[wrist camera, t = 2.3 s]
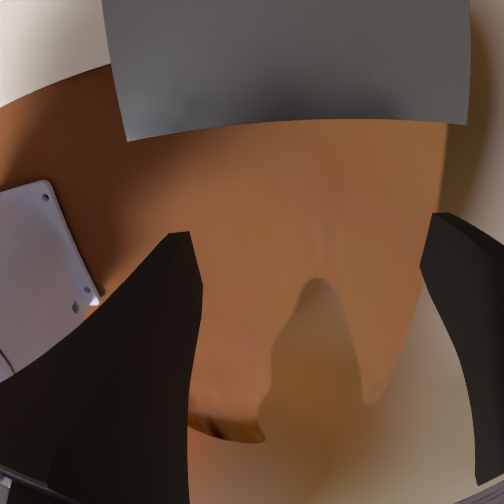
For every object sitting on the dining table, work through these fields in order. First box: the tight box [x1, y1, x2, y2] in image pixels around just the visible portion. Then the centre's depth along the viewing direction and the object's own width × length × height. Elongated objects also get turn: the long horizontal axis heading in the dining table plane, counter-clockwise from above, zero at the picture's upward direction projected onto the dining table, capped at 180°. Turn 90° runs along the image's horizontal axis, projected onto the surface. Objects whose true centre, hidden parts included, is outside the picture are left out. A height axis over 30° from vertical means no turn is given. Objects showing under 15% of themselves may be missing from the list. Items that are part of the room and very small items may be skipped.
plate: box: [0, 0, 111, 107], centre depth 9 cm, size 8×8×1 cm
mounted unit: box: [101, 0, 471, 142], centre depth 9 cm, size 7×12×6 cm, turn 95°
